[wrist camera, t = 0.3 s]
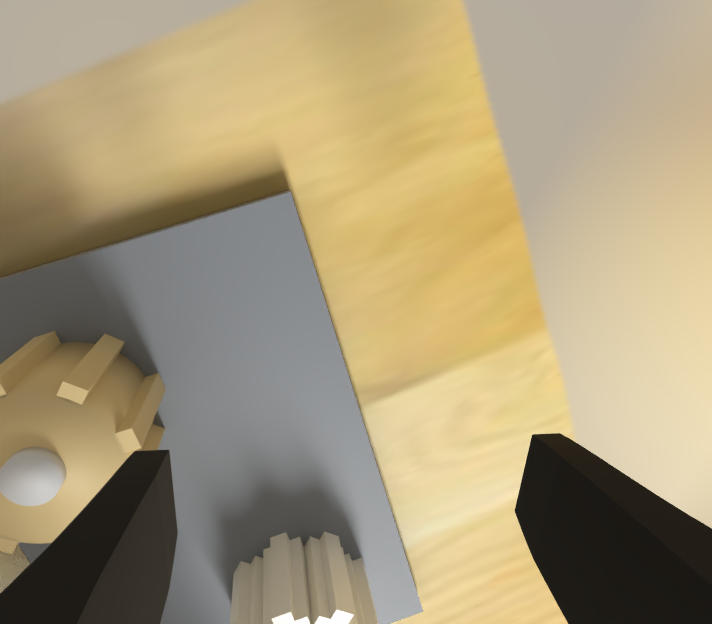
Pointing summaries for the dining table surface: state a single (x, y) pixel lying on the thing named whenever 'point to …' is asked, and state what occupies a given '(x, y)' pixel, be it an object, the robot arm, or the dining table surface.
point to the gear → (302, 585)
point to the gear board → (193, 402)
